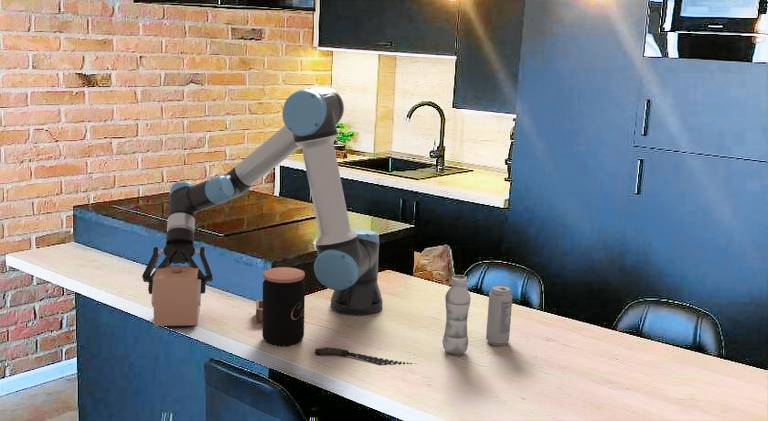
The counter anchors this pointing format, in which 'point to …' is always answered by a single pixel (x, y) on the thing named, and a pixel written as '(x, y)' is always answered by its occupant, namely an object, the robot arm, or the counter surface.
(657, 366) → the counter surface
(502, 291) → the energy drink can
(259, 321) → the walnut open box
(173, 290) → the cube with knob
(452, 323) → the plastic bottle
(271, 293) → the coffee jar
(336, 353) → the knife
